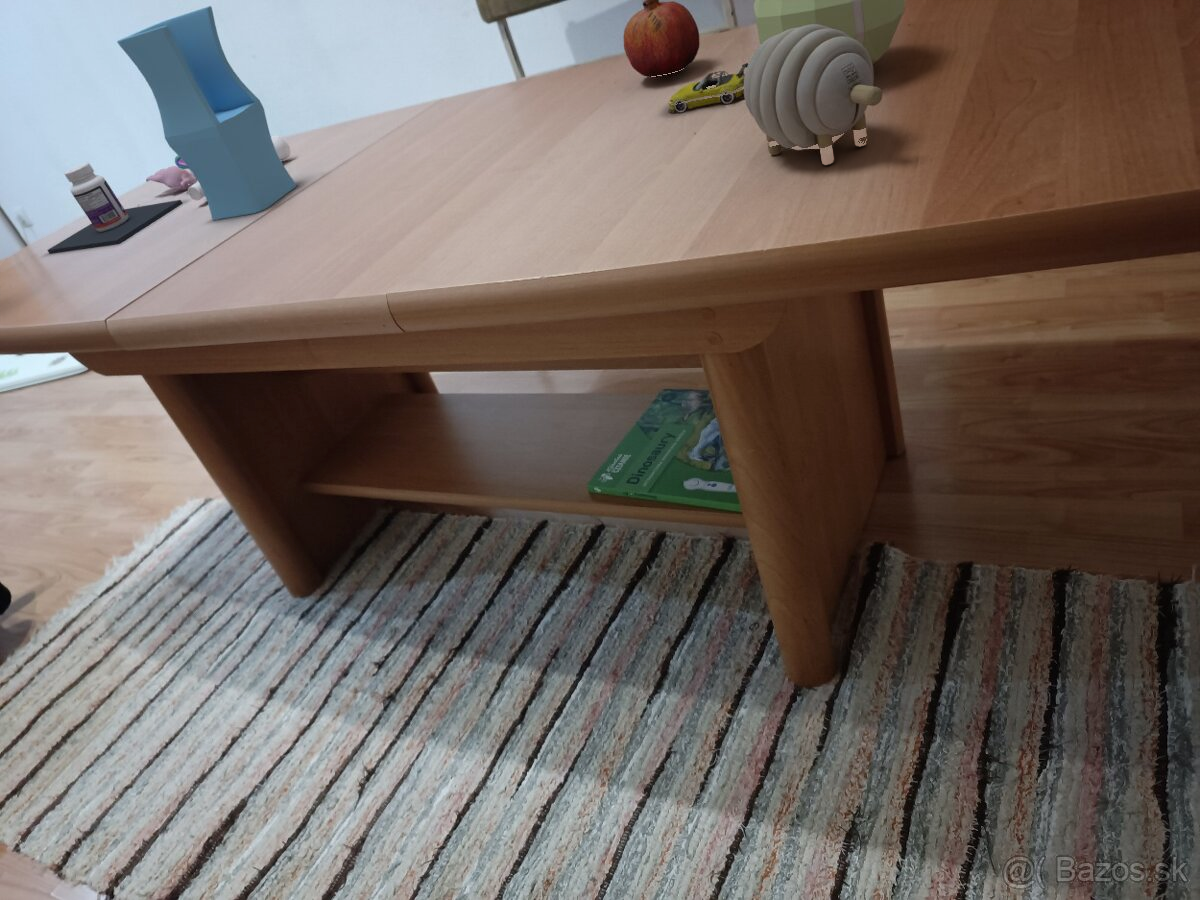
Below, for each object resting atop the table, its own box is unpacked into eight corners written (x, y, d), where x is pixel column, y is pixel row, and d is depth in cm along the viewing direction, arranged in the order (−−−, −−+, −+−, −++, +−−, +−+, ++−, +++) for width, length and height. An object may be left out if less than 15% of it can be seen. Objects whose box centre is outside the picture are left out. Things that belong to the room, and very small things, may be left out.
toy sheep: (795, 122, 90) (778, 8, 84) (932, 136, 77) (924, 3, 71) (720, 164, 87) (696, 49, 80) (849, 186, 74) (833, 52, 67)
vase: (261, 212, 123) (161, 27, 109) (212, 220, 127) (109, 43, 113) (301, 182, 130) (211, 5, 116) (253, 191, 134) (161, 21, 120)
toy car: (675, 101, 108) (670, 76, 106) (754, 85, 104) (750, 60, 102) (664, 116, 104) (658, 91, 103) (746, 100, 100) (741, 74, 98)
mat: (49, 253, 141) (47, 250, 141) (113, 214, 151) (111, 211, 150) (119, 243, 133) (116, 240, 132) (182, 203, 142) (180, 199, 142)
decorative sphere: (879, 98, 88) (864, -66, 80) (747, 111, 97) (720, -35, 88) (925, 46, 97) (915, -106, 89) (799, 63, 106) (779, -75, 97)
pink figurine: (232, 182, 150) (166, 180, 155) (218, 148, 146) (151, 148, 151) (208, 198, 145) (141, 196, 150) (193, 164, 142) (125, 162, 147)
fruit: (709, 74, 113) (692, -8, 107) (635, 97, 115) (615, 17, 109) (700, 55, 122) (684, -22, 116) (632, 77, 123) (612, 2, 117)
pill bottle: (110, 221, 144) (73, 165, 138) (136, 214, 143) (100, 157, 137) (91, 235, 140) (52, 178, 134) (117, 228, 138) (79, 170, 133)
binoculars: (296, 157, 145) (282, 130, 142) (240, 198, 133) (224, 169, 131) (248, 168, 149) (234, 141, 146) (190, 208, 137) (174, 180, 135)
